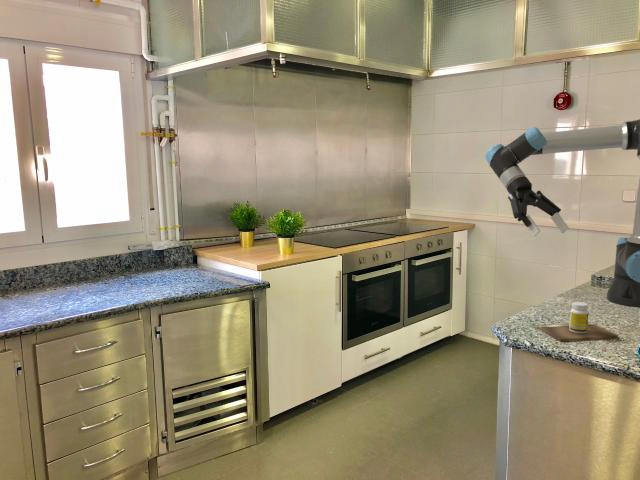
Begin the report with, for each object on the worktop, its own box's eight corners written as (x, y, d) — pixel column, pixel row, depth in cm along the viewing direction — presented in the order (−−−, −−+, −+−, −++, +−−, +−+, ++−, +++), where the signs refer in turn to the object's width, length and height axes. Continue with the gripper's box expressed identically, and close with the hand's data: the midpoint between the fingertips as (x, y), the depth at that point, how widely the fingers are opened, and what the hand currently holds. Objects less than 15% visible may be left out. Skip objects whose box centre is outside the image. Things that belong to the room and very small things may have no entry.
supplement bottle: (589, 334, 149) (591, 306, 147) (571, 333, 150) (573, 305, 148) (584, 329, 153) (586, 301, 152) (567, 328, 154) (569, 300, 153)
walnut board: (590, 324, 160) (590, 321, 160) (617, 338, 148) (618, 335, 148) (536, 327, 157) (536, 324, 157) (560, 341, 145) (560, 338, 145)
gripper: (534, 188, 184) (568, 236, 173) (483, 191, 172) (517, 242, 161) (548, 174, 178) (584, 222, 168) (496, 176, 167) (532, 227, 156)
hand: (551, 232), depth 165 cm, fingers open, 13 cm apart
